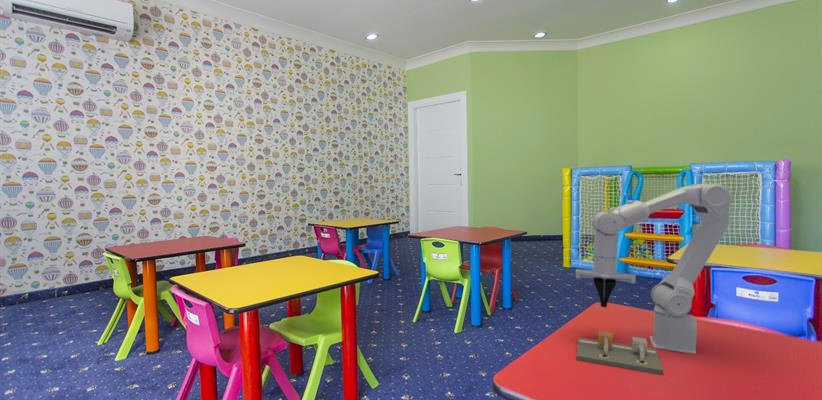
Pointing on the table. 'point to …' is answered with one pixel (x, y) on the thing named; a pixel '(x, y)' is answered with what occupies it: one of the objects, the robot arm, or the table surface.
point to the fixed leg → (640, 346)
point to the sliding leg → (605, 340)
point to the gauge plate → (618, 356)
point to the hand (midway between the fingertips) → (603, 306)
